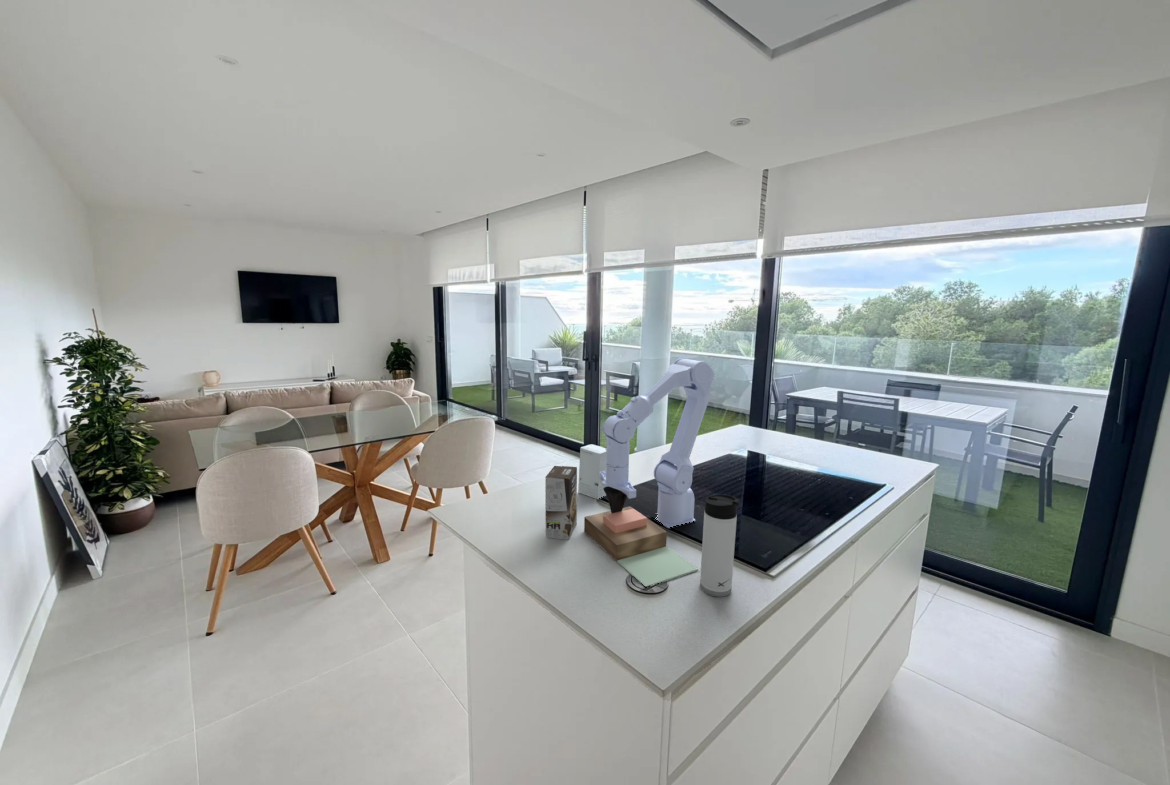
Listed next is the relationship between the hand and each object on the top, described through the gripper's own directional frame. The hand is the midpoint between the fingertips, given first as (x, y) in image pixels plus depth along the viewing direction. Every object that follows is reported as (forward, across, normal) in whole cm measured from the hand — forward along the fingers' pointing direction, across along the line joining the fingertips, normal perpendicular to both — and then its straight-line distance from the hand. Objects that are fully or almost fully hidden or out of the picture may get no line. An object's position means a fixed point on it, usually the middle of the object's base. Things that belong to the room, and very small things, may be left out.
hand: (616, 514), depth 117 cm
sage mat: (+5, +18, 0) cm, 18 cm away
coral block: (+1, +4, 0) cm, 4 cm away
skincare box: (+5, -24, +7) cm, 26 cm away
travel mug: (+5, +30, +6) cm, 31 cm away
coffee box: (+5, -7, -12) cm, 15 cm away
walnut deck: (+5, +4, 0) cm, 6 cm away
